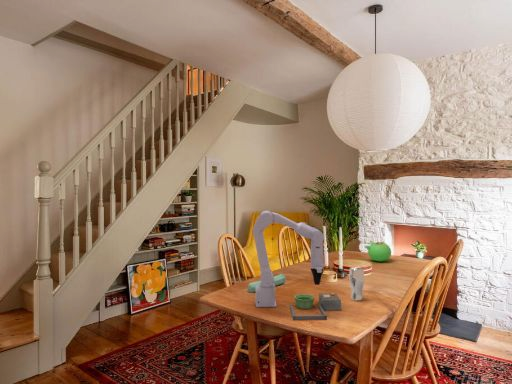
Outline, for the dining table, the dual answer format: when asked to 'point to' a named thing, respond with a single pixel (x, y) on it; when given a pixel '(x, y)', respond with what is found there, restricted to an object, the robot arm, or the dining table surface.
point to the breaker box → (330, 301)
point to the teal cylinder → (277, 281)
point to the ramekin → (304, 301)
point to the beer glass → (356, 283)
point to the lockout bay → (309, 317)
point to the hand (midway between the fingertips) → (317, 284)
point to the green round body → (379, 251)
